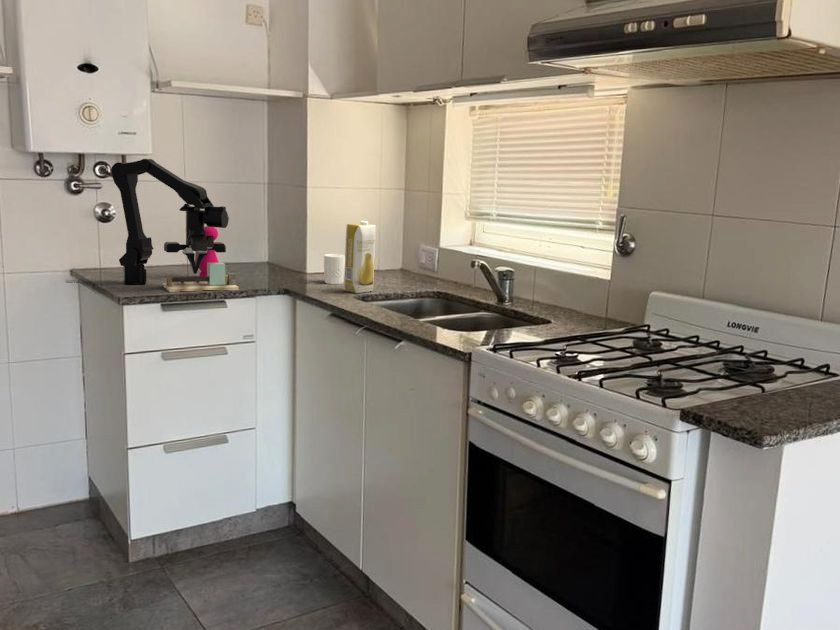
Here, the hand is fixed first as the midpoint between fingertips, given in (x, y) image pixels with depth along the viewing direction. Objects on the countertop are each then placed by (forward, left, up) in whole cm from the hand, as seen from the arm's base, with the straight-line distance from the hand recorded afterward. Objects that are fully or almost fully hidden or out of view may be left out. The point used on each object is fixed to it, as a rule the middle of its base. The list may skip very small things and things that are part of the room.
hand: (195, 273), depth 259 cm
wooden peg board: (+2, 0, -5) cm, 5 cm away
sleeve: (+7, 0, -4) cm, 8 cm away
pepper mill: (+9, +20, -5) cm, 22 cm away
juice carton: (+52, -15, -5) cm, 54 cm away
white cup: (+50, +3, -5) cm, 50 cm away
